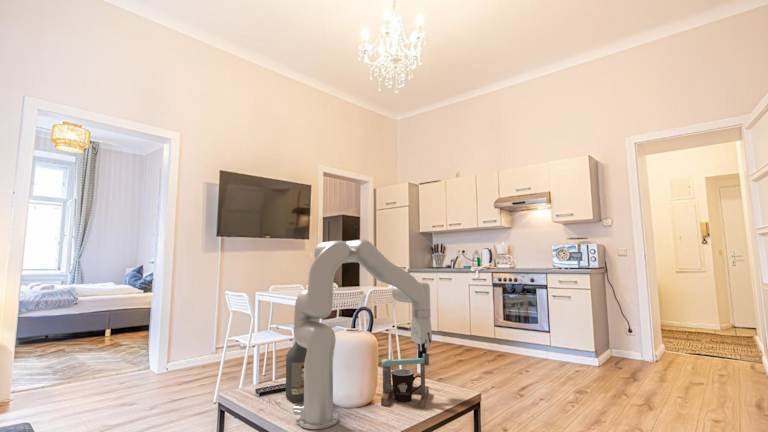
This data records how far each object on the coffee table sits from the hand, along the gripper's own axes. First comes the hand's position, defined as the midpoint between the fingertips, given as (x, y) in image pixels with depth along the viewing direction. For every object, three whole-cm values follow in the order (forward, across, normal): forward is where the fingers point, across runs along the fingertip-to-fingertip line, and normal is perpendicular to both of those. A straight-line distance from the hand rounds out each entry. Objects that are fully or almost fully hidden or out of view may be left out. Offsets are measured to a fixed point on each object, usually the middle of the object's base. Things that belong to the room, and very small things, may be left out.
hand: (422, 360), depth 157 cm
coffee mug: (+12, +4, -10) cm, 16 cm away
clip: (+1, +2, -8) cm, 8 cm away
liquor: (+12, -16, -46) cm, 50 cm away
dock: (+12, +4, -9) cm, 16 cm away
